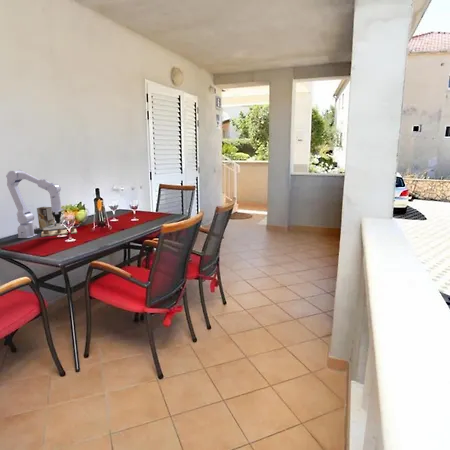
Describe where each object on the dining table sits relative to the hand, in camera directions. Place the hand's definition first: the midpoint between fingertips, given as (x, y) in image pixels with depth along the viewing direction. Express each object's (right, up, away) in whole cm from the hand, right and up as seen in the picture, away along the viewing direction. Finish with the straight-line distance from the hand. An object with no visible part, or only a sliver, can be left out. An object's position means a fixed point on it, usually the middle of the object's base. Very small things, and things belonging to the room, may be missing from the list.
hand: (58, 223), depth 227 cm
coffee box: (-19, -5, +22) cm, 29 cm away
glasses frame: (0, -4, +1) cm, 4 cm away
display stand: (-4, -7, +10) cm, 13 cm away
